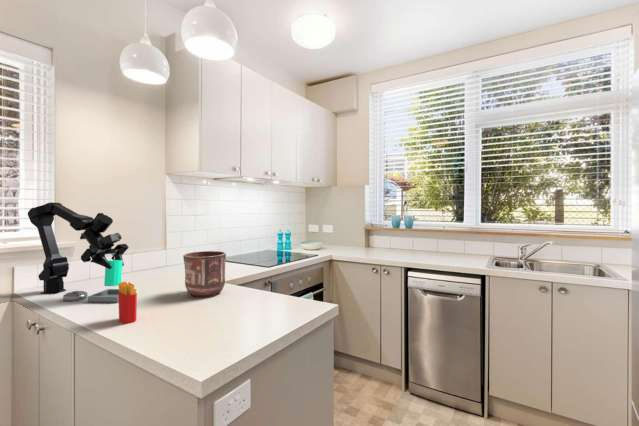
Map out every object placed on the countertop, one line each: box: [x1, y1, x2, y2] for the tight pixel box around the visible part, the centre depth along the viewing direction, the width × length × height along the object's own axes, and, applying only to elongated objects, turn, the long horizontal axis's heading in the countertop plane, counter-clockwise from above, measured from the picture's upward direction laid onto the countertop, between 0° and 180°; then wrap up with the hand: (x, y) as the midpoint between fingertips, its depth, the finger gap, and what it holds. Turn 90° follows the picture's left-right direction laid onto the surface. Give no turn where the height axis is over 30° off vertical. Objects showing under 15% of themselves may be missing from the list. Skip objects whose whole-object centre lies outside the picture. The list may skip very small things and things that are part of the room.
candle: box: [104, 257, 124, 287], centre depth 135 cm, size 6×6×12 cm
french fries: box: [118, 281, 138, 324], centre depth 109 cm, size 9×4×13 cm, turn 48°
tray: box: [87, 288, 119, 304], centre depth 135 cm, size 12×12×2 cm
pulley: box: [62, 290, 88, 303], centre depth 134 cm, size 8×8×3 cm
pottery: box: [183, 250, 227, 298], centre depth 143 cm, size 18×18×18 cm
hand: (117, 267), depth 135 cm, fingers closed on candle, 6 cm apart
